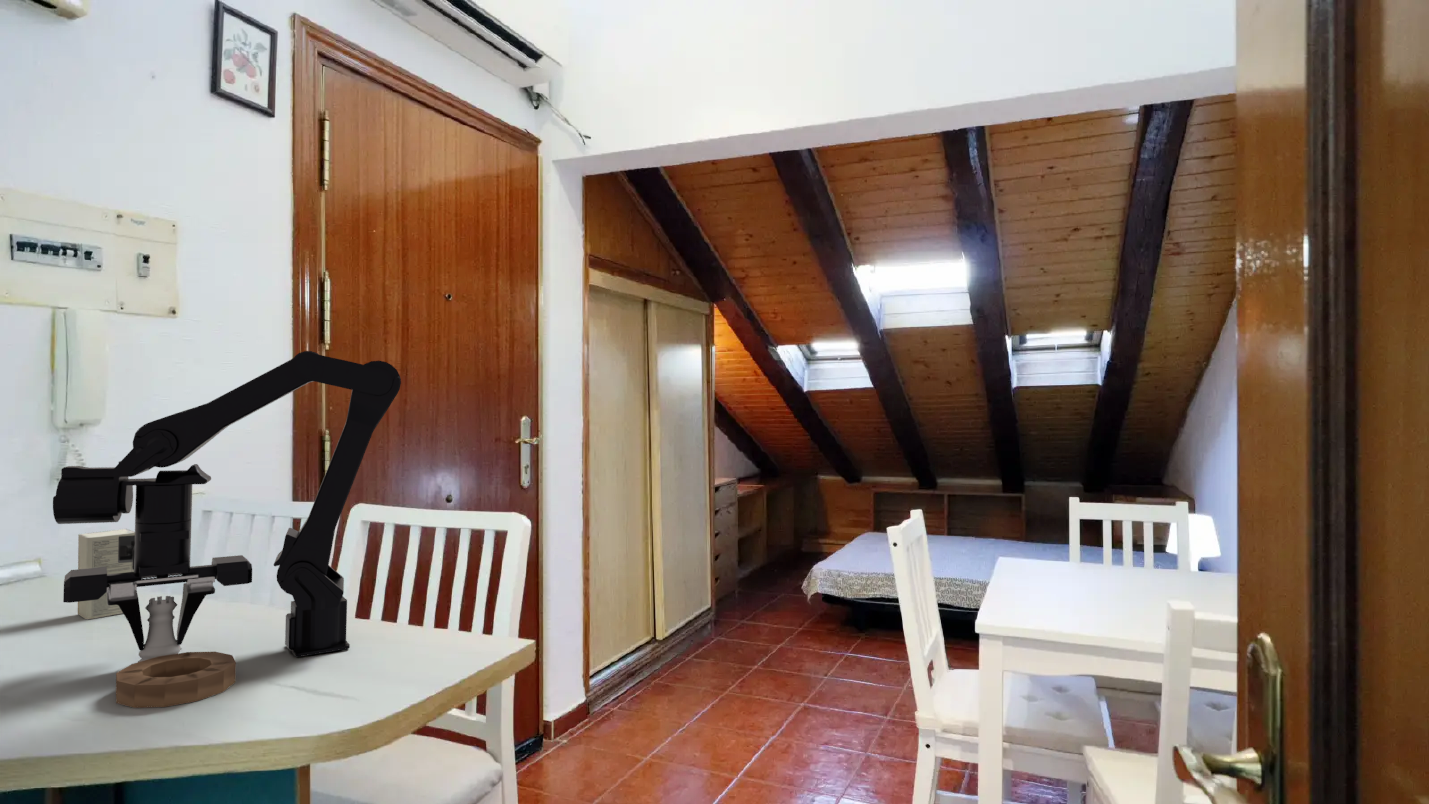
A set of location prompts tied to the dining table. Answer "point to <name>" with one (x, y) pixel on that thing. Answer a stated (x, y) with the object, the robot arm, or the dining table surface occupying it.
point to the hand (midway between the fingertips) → (160, 646)
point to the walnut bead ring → (175, 679)
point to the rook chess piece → (160, 629)
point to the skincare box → (101, 553)
